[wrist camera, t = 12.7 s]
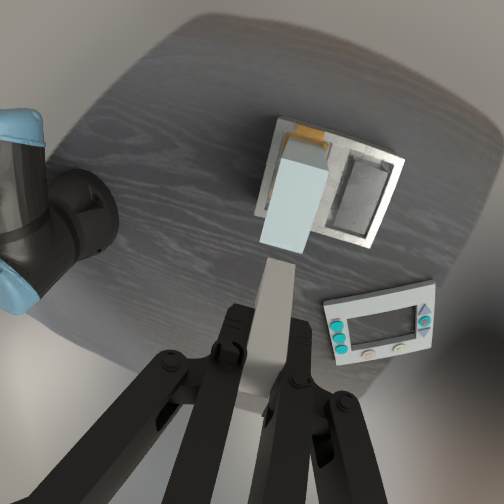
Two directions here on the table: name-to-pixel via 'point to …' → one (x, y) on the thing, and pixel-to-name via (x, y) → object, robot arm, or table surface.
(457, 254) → the table surface
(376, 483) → the robot arm
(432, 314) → the electronic device
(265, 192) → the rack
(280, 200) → the block
